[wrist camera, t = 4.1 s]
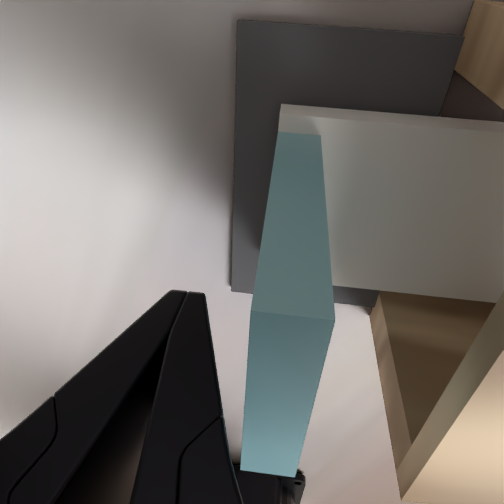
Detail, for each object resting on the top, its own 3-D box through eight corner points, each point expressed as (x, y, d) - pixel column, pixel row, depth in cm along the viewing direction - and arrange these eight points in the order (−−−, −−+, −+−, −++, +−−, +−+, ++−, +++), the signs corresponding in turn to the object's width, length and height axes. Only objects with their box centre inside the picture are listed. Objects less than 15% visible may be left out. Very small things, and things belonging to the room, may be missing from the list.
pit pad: (373, 303, 17) (374, 307, 16) (232, 288, 17) (231, 291, 17) (462, 35, 11) (465, 36, 10) (238, 19, 11) (237, 20, 11)
